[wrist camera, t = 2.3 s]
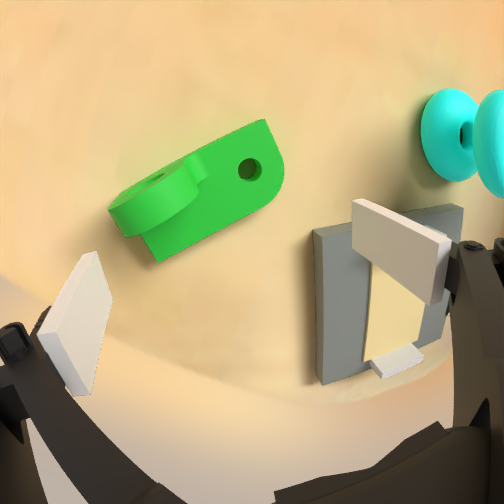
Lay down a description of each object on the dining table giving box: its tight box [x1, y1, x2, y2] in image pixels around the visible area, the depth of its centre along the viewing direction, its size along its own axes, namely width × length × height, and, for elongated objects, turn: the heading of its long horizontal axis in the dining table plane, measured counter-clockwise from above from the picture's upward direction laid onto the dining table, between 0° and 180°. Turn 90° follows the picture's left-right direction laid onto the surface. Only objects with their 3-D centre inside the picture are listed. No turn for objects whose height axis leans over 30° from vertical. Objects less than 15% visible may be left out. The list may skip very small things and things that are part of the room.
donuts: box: [421, 89, 504, 198], centre depth 23 cm, size 10×10×10 cm
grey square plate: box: [313, 204, 464, 386], centre depth 30 cm, size 18×18×5 cm
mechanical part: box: [108, 119, 284, 263], centre depth 21 cm, size 12×6×8 cm, turn 115°
